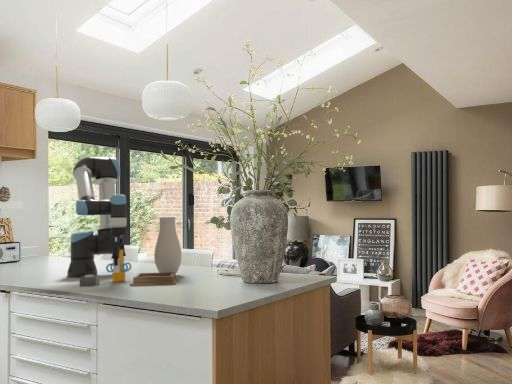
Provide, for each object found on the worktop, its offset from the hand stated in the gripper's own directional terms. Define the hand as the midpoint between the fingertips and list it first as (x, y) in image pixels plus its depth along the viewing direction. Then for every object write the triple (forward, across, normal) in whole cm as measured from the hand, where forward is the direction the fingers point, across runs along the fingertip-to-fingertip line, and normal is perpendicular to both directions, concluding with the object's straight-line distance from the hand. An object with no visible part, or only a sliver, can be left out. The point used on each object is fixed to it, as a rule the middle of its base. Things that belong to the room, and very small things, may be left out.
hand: (119, 271), depth 245 cm
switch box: (+5, +12, -11) cm, 17 cm away
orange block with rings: (+5, 0, 0) cm, 5 cm away
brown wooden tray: (+5, +9, +18) cm, 20 cm away
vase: (+5, -16, +22) cm, 28 cm away
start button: (+3, +12, -11) cm, 16 cm away
